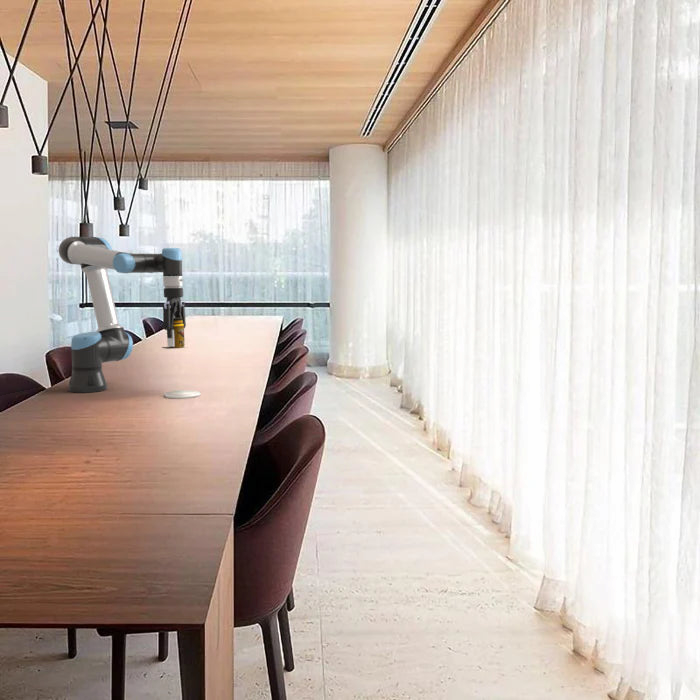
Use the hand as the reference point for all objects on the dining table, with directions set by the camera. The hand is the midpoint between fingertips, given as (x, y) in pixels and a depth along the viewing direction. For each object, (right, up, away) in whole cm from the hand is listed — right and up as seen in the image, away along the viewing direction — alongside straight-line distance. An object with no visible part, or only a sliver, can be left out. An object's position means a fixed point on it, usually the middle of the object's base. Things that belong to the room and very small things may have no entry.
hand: (175, 345), depth 311 cm
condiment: (0, -1, 0) cm, 1 cm away
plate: (+3, -20, -1) cm, 20 cm away
